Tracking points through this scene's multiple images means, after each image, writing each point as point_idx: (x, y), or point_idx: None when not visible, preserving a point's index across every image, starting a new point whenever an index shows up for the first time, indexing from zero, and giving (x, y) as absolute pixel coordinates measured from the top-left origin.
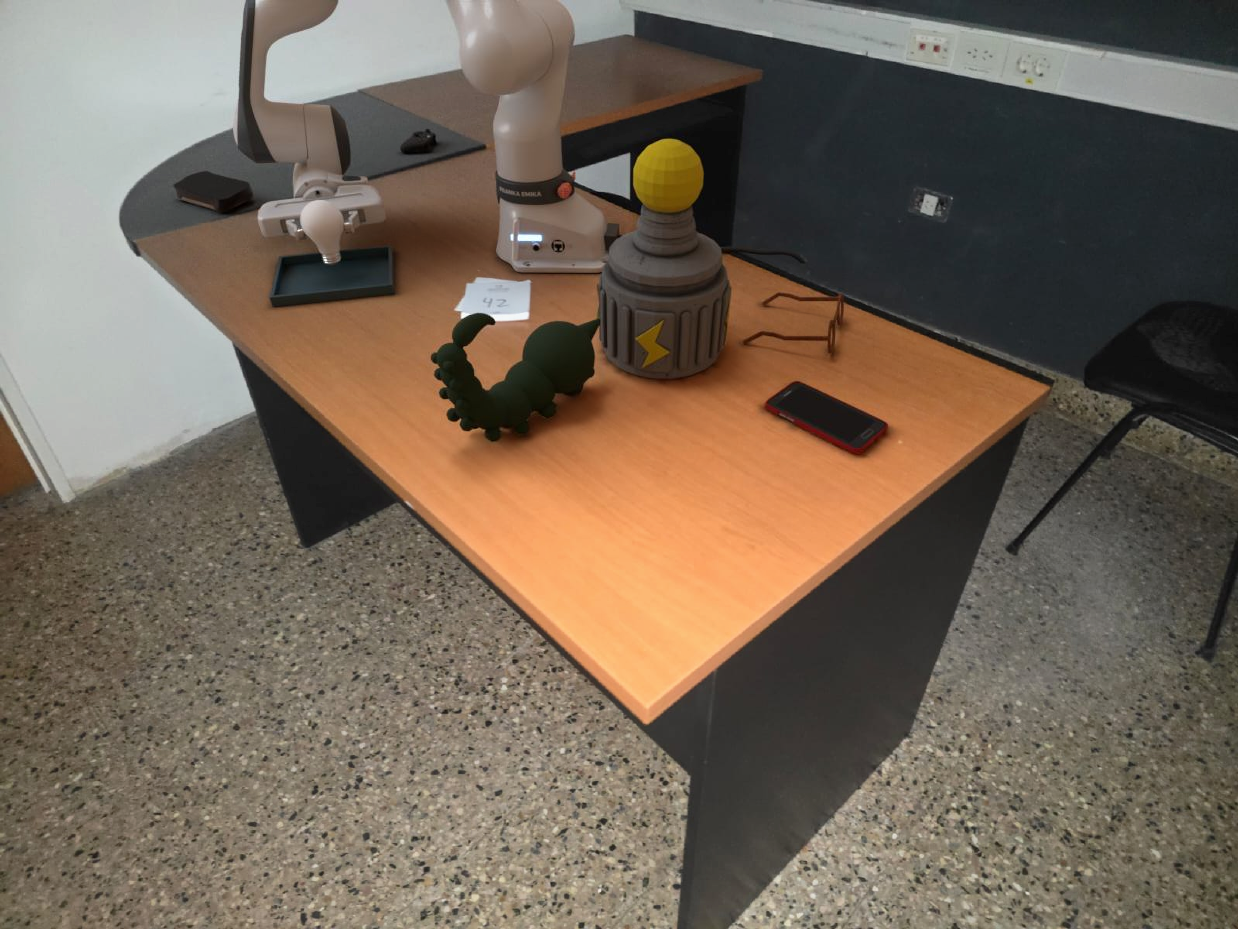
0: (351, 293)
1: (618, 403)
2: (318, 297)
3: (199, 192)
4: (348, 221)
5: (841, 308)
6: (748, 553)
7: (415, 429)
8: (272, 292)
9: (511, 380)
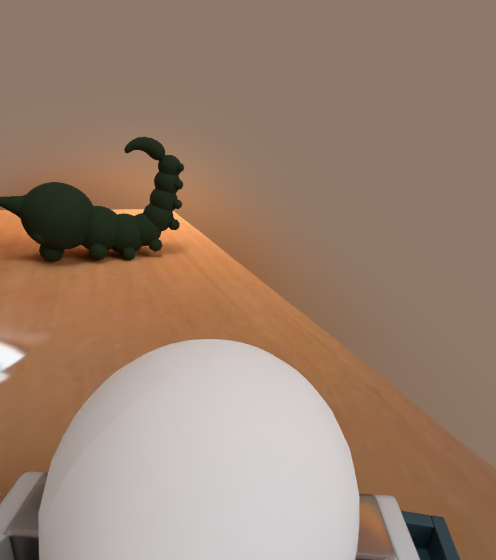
0: None
1: (33, 250)
2: None
3: None
4: (35, 491)
5: None
6: None
7: (198, 266)
8: (451, 552)
9: (117, 215)
